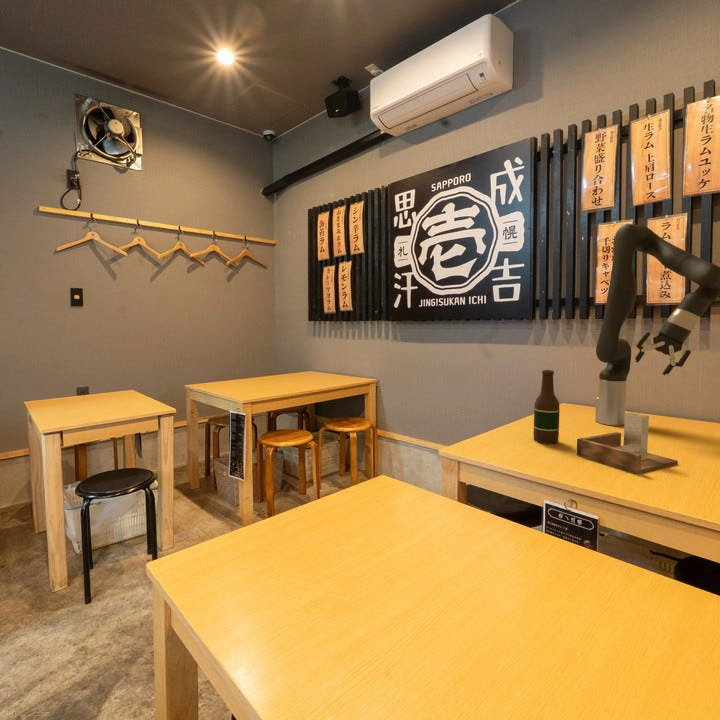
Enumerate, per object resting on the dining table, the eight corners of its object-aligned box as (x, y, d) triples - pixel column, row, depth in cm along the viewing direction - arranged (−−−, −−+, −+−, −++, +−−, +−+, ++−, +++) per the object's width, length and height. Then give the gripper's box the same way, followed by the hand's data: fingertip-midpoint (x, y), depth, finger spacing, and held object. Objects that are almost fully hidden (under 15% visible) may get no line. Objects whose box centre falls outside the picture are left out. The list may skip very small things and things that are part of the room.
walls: (576, 451, 129) (577, 438, 128) (616, 444, 136) (616, 432, 136) (636, 470, 112) (637, 455, 112) (677, 460, 120) (678, 446, 119)
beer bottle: (557, 439, 146) (559, 369, 144) (559, 445, 139) (562, 372, 137) (532, 437, 149) (534, 368, 147) (534, 443, 141) (536, 371, 139)
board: (576, 455, 129) (576, 451, 128) (616, 447, 136) (616, 444, 136) (636, 474, 112) (636, 470, 112) (677, 464, 120) (677, 460, 120)
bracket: (629, 452, 127) (631, 412, 126) (646, 457, 123) (649, 416, 122) (609, 456, 123) (611, 415, 122) (626, 461, 119) (628, 419, 118)
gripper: (701, 334, 139) (670, 377, 144) (655, 315, 145) (627, 357, 150) (706, 335, 133) (673, 380, 138) (657, 315, 139) (628, 358, 144)
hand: (649, 368), depth 144 cm, fingers open, 8 cm apart
